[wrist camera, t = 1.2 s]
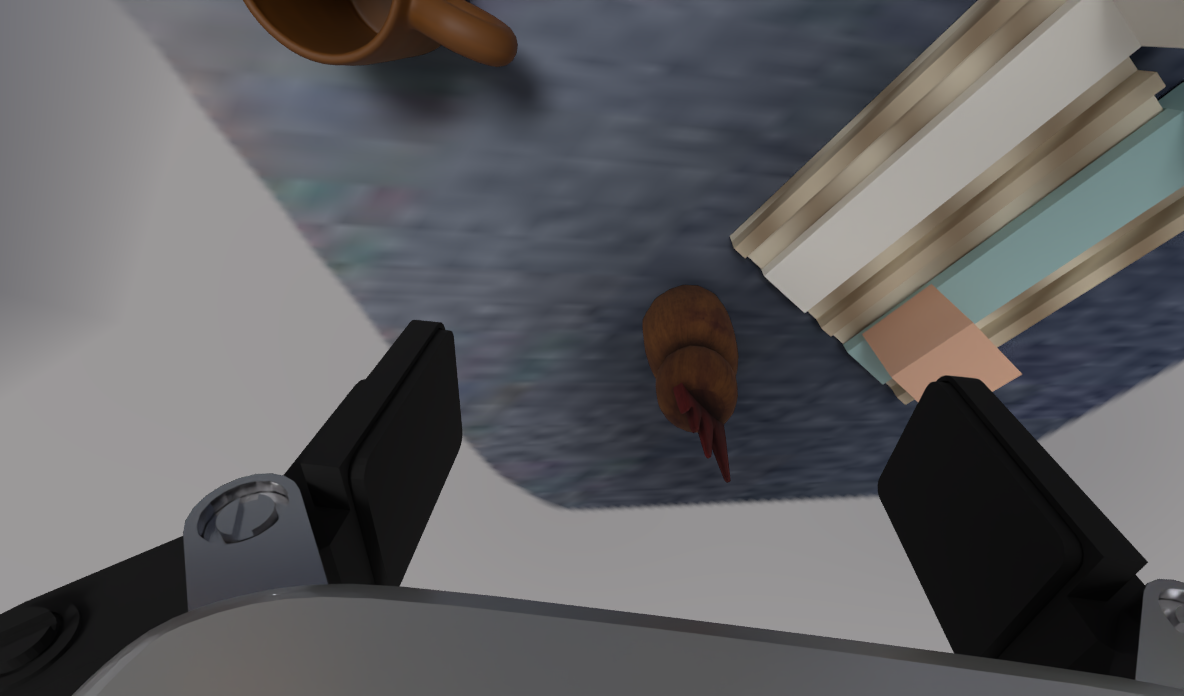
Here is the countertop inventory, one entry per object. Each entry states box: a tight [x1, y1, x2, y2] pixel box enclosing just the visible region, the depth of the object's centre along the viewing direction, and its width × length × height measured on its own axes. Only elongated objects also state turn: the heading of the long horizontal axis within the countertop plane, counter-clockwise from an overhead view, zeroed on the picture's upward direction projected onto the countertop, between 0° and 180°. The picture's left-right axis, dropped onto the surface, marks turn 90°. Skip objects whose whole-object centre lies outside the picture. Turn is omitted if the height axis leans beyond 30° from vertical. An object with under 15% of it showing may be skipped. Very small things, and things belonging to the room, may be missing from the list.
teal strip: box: [843, 82, 1184, 384], centre depth 29 cm, size 22×4×10 cm, turn 140°
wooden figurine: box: [643, 285, 738, 483], centre depth 32 cm, size 7×6×15 cm
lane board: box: [730, 0, 1184, 405], centre depth 32 cm, size 20×18×2 cm
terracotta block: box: [862, 284, 1022, 402], centre depth 33 cm, size 5×5×5 cm
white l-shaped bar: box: [762, 0, 1184, 313], centre depth 26 cm, size 22×4×10 cm, turn 140°
